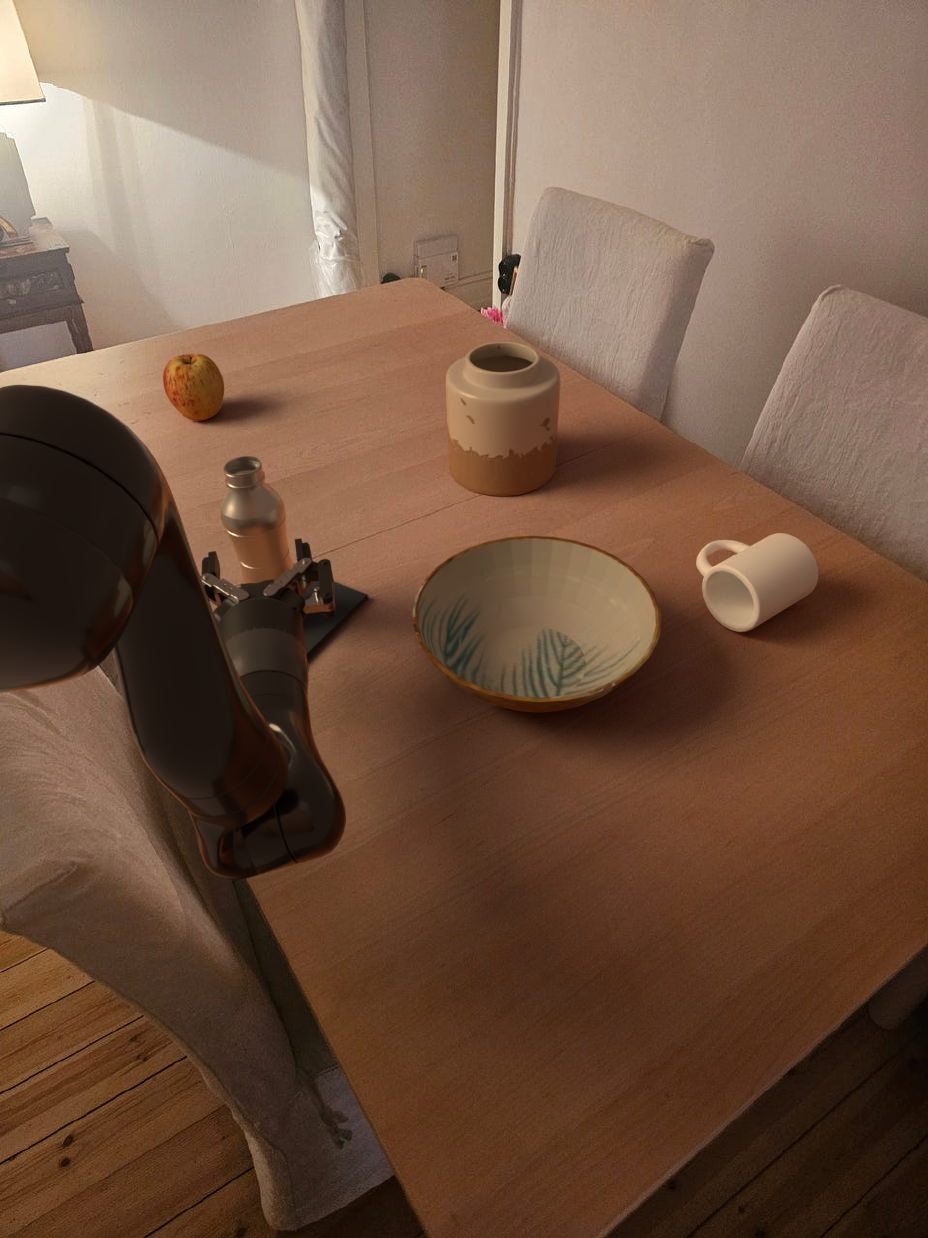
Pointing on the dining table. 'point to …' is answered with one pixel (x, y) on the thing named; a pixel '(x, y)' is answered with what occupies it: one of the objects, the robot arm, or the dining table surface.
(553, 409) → the vase
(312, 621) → the mat
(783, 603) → the mug
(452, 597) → the bowl
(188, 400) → the apple
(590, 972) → the dining table surface
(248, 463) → the silver metal bottle
